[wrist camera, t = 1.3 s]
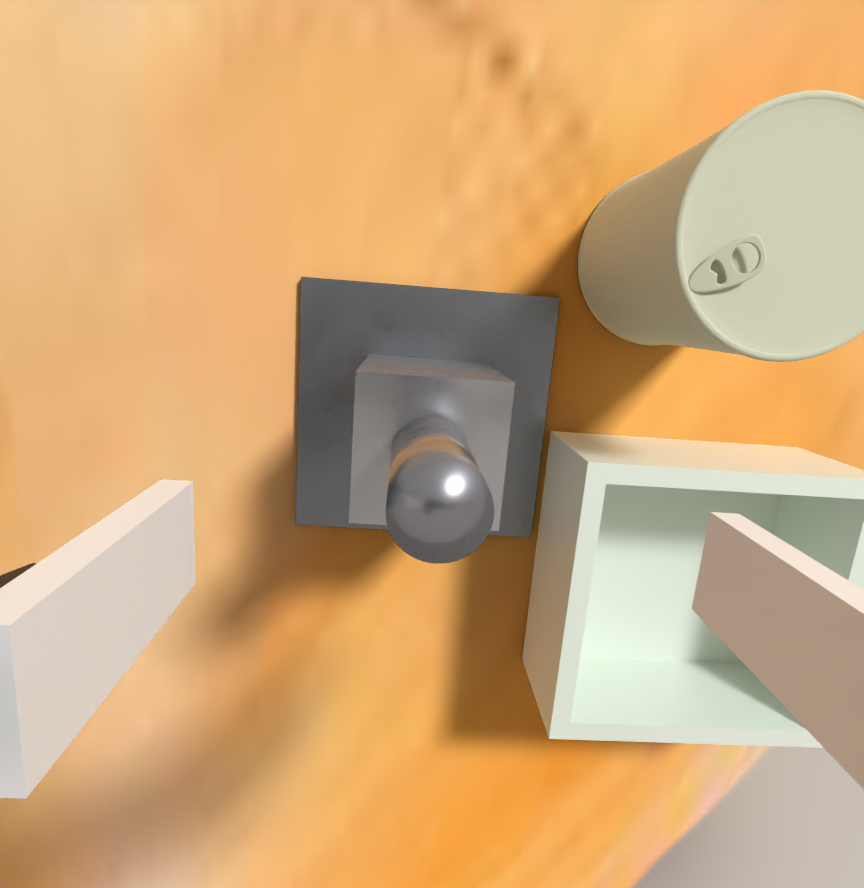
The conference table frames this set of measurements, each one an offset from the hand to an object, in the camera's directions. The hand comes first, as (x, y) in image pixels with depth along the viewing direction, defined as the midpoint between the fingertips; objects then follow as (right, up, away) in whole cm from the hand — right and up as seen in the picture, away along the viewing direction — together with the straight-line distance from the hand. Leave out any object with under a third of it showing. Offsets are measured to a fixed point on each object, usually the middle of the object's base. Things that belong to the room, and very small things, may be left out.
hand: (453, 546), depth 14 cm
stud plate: (-1, +4, +18) cm, 19 cm away
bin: (+13, -4, +21) cm, 25 cm away
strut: (-1, +4, +18) cm, 18 cm away
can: (+12, +13, +17) cm, 24 cm away
